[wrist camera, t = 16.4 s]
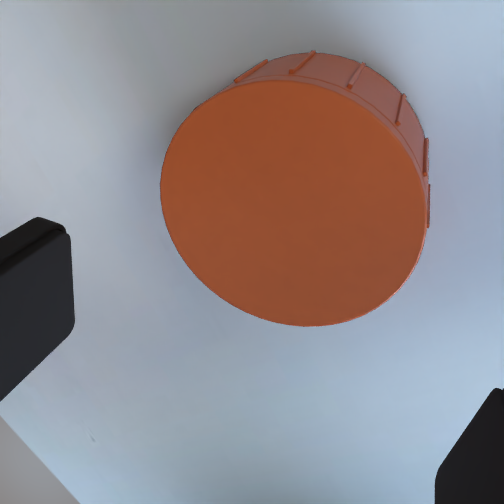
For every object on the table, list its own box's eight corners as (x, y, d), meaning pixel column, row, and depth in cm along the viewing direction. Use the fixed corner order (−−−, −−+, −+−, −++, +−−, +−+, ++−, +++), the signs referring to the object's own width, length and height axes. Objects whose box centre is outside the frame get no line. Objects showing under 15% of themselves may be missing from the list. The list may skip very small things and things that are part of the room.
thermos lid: (220, 25, 13) (165, 45, 10) (471, 86, 12) (482, 127, 9) (198, 229, 17) (154, 282, 15) (384, 290, 16) (374, 359, 13)
